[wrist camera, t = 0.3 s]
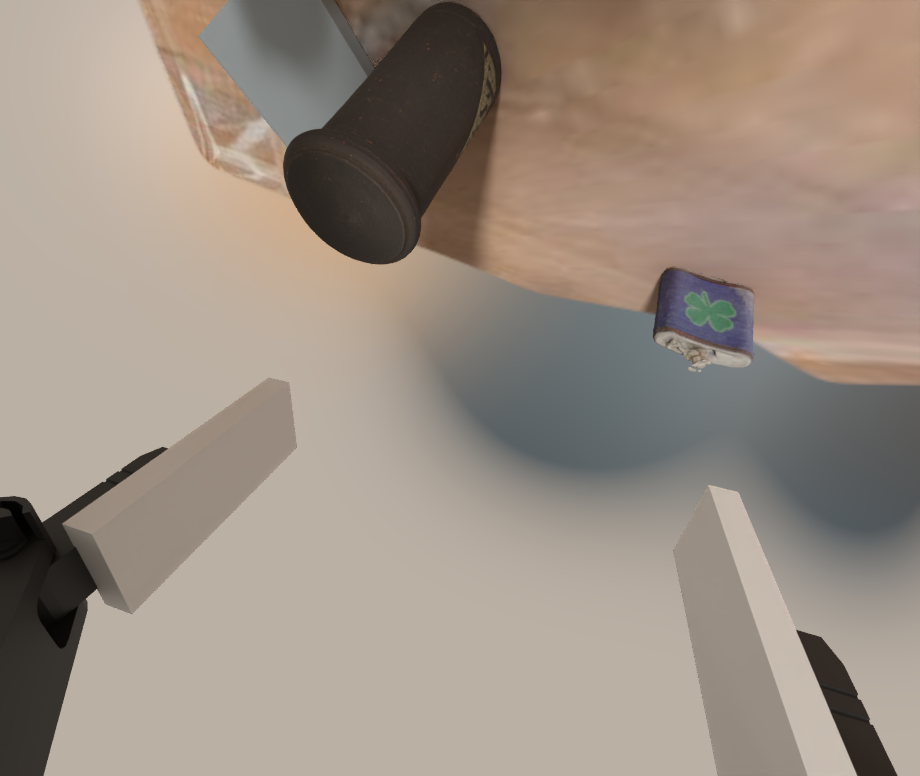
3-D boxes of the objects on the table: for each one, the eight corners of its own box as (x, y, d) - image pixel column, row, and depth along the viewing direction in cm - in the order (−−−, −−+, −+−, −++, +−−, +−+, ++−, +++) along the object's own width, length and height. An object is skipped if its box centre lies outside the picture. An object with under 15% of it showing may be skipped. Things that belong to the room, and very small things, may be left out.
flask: (760, 289, 43) (759, 375, 38) (741, 307, 45) (738, 390, 40) (668, 261, 44) (655, 342, 39) (655, 281, 46) (641, 359, 41)
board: (207, 29, 40) (197, 36, 39) (293, -70, 31) (282, -64, 31) (333, 189, 51) (327, 197, 50) (421, 147, 42) (415, 156, 42)
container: (437, 135, 41) (340, 282, 31) (386, 25, 35) (244, 167, 25) (520, 105, 36) (435, 267, 27) (478, -28, 30) (347, 121, 20)
